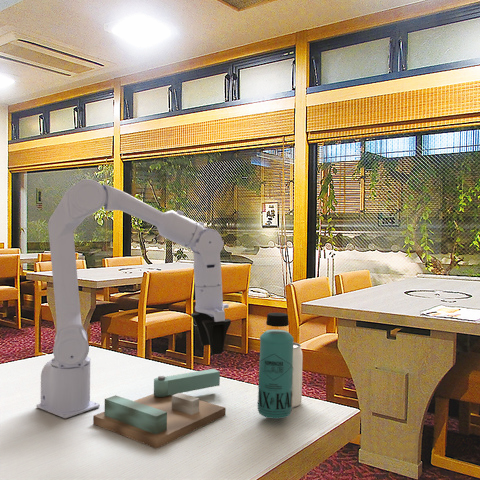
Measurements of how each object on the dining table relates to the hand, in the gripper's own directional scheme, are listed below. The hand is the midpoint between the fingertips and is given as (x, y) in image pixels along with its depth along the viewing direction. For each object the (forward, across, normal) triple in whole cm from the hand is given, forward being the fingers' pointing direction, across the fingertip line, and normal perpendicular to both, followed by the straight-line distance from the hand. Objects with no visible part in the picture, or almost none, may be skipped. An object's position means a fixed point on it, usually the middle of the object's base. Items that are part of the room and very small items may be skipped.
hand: (211, 349), depth 105 cm
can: (+11, -9, -12) cm, 19 cm away
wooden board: (+9, -10, +13) cm, 19 cm away
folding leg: (+8, 0, +6) cm, 10 cm away
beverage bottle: (+11, -16, -7) cm, 21 cm away
